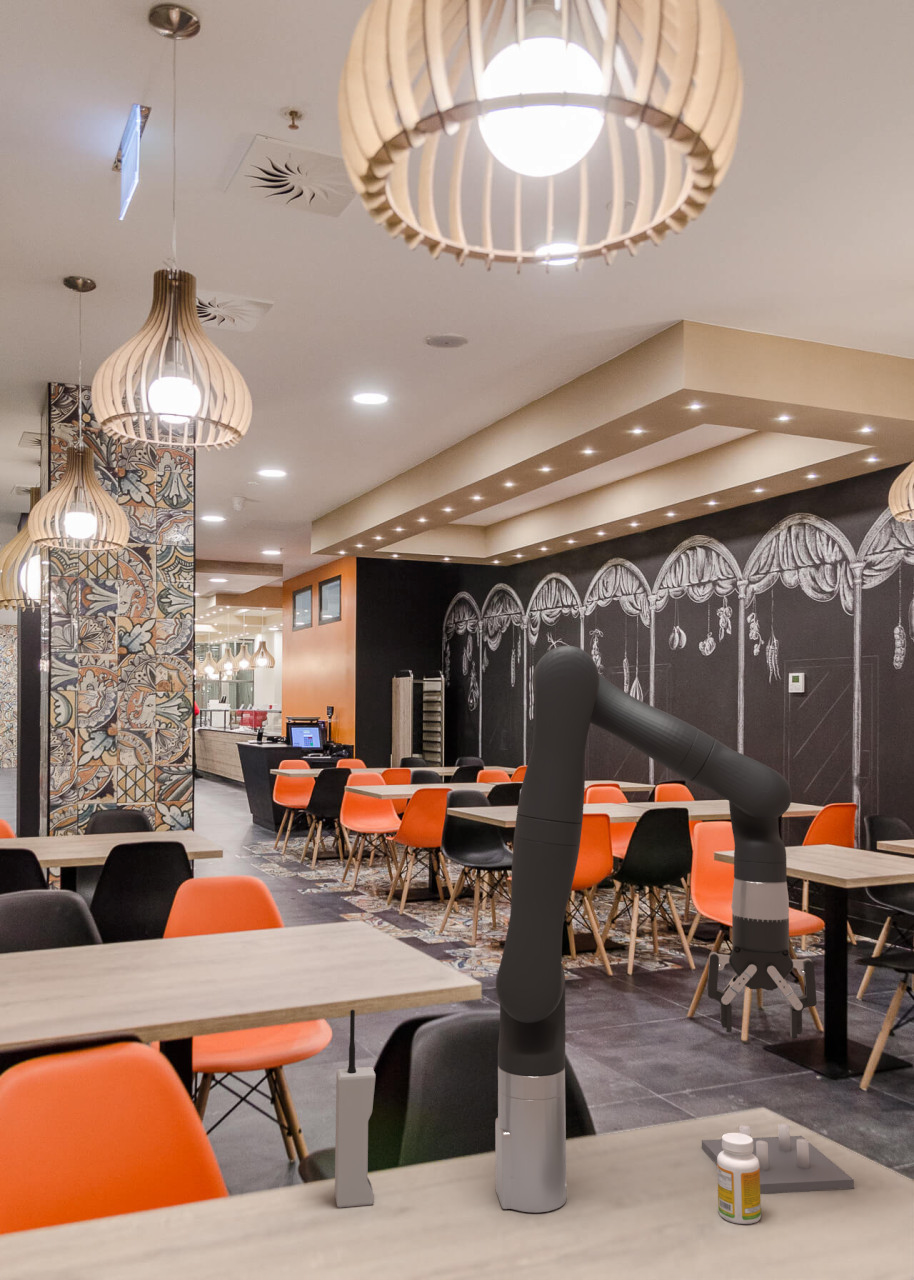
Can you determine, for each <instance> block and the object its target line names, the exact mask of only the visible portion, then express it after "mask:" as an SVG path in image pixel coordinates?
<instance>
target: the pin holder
mask: <svg viewBox="0 0 914 1280" xmlns="http://www.w3.org/2000/svg"><path fill="white" fill-rule="evenodd" d="M790 1126H791V1125H790V1124H788V1123H785V1122H784V1123H782V1122H781V1123H778V1136H766V1137H765V1136H764V1137H763V1136H762V1137H752V1136H751V1134H752V1133H751V1132H752V1131H751V1126H749V1125H747V1124H739V1128H738V1129H739V1130H738V1131H739V1132H738V1133H741V1134H745V1135H748V1136H750V1137H751V1138H752V1139H753V1147H754V1148H753V1152H752V1154H754V1155H755V1156H756V1157H757V1159H758V1161H759V1167H760V1194H776V1193H795V1192H796V1193H797V1192H814V1191H815V1192H816V1191H833V1190H834V1191H838V1190H852V1189H853V1190H854V1189H855V1183H854V1182H855V1181H854V1180H855V1179H854V1178H853V1177H852V1176H850V1175H849V1174H848V1173H847V1172H845V1170H843V1169H842V1168H840V1167H839V1166H838V1165H837V1164H836V1163H834V1162H833V1161H832V1160H831V1159H830V1158H829V1157H827V1156H826V1155H825V1154H824V1153H823V1152H821V1151H820V1150H819V1149H818V1148H817V1147H816V1146H815V1145H813V1144H812V1143H811V1142H810V1141H809V1140H807V1139H806V1138H805V1137H803V1136H802V1135H791V1134H790V1133H791V1129H790ZM701 1149H702V1150H703V1152H704V1153H705V1152H706V1153H705V1154H706V1155H707V1156H708V1157H709V1159H711V1160H712V1161H713V1162H714V1164H715V1165H716V1166H717V1157H718V1154H719V1153H720V1152H721V1151H723V1148H722V1138H721V1139H701Z"/></svg>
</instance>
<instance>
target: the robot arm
mask: <svg viewBox="0 0 914 1280" xmlns="http://www.w3.org/2000/svg"><path fill="white" fill-rule="evenodd" d="M531 681H532V689H533V691H534V698H535V702H534V704H535V705H534V707H535V708H534V731H533V739H532V747H531V751H530V754H529V759H528V762H527V766H526V769H525V773H524V777H523V781H522V784H521V787H520V788H521V789H520V793H519V798H518V804H517V811H516V816H515V817H516V818H515V824H514V825H515V827H514V833H513V847H512V857H511V858H512V859H511V860H512V861H511V862H512V863H511V881H510V882H511V890H510V891H511V897H510V899H511V900H510V902H511V903H510V914H509V920H508V921H509V922H508V927H507V932H506V937H505V943H504V947H503V950H502V956H501V960H500V963H499V967H498V969H497V975H496V979H495V989H496V995H497V998H498V1001H499V1002H500V1003H499V1033H498V1035H499V1036H498V1043H497V1089H498V1090H497V1109H498V1110H497V1114H498V1115H497V1117H496V1118H495V1125H494V1126H495V1128H494V1130H495V1132H494V1133H495V1134H494V1135H495V1139H494V1140H495V1143H494V1144H495V1147H494V1149H495V1192H496V1195H497V1198H498V1201H499V1203H500V1205H501V1208H502V1209H503V1210H507V1209H509V1210H510V1209H511V1210H514V1211H518V1212H523V1213H546V1212H550V1211H555V1210H557V1209H559V1208H561V1207H562V1206H564V1205H565V1203H566V1202H567V1183H568V1181H567V1139H566V1137H567V1136H566V1135H567V1132H566V1131H567V1130H566V1128H567V1126H566V1037H567V1035H566V974H565V968H564V966H563V963H562V962H563V961H562V959H563V958H562V956H563V955H562V953H563V952H562V951H563V931H564V922H565V921H564V920H565V916H566V910H567V906H568V903H569V898H570V894H571V890H572V887H573V883H574V878H575V873H576V871H577V870H576V869H577V864H578V859H579V854H580V847H581V838H582V837H581V836H582V829H583V822H584V821H583V819H584V805H585V802H584V801H585V784H586V778H585V777H586V770H585V769H586V767H585V766H586V765H585V764H586V763H585V762H586V749H587V741H588V736H589V732H590V731H589V729H590V725H593V726H596V727H597V728H600V729H602V730H604V731H606V732H608V733H610V734H611V735H614V736H615V737H617V738H619V739H620V740H622V741H624V742H626V743H627V744H628V745H630V746H632V747H634V748H635V749H637V750H638V751H639V752H641V753H643V754H645V756H647V757H648V758H651V759H652V760H653V761H655V762H657V763H658V764H660V765H662V766H663V767H665V768H667V769H668V770H670V771H672V772H673V773H675V774H677V775H678V776H679V777H682V778H684V779H685V780H686V781H689V782H690V783H692V784H694V785H695V786H699V787H701V788H704V789H707V790H709V791H712V792H714V793H716V794H717V795H718V796H720V797H722V798H723V799H725V800H727V801H728V804H729V805H728V806H729V816H730V823H731V829H732V830H731V831H732V836H733V842H734V849H733V850H734V852H733V887H732V893H731V894H732V898H731V901H732V902H731V910H732V913H731V917H732V918H731V919H732V921H731V923H732V925H731V926H732V927H731V928H732V929H731V930H732V932H731V933H732V935H731V937H732V938H731V939H732V940H731V941H732V943H731V945H732V948H731V951H730V954H722V953H717V951H714V950H711V951H710V952H709V954H708V969H707V971H708V972H707V983H706V984H707V985H706V986H707V988H706V991H707V996H708V997H709V999H710V1000H715V1001H717V1002H719V1004H720V1025H721V1027H722V1028H723V1029H725V1032H726V1033H730V1034H732V1033H733V1032H732V1031H733V1030H732V1029H733V1028H732V1026H733V1025H732V1023H733V1021H732V1018H733V1015H732V1014H733V1013H732V1012H733V1010H732V1009H733V1007H732V1006H733V1005H732V1000H733V999H734V998H735V997H736V996H737V995H738V994H739V993H740V992H741V990H743V989H744V987H746V988H748V989H750V990H757V989H758V990H759V989H762V990H763V989H764V990H766V991H772V992H773V991H774V990H777V989H778V988H779V989H780V991H781V993H782V994H783V995H784V996H785V998H786V999H787V1000H788V1002H789V1003H790V1004H791V1006H789V1035H790V1038H791V1039H798V1035H801V1034H802V1031H803V1010H804V1009H806V1008H810V1007H815V1006H817V989H816V976H815V964H814V963H813V961H812V959H811V958H809V957H804V958H802V959H794V958H793V959H792V958H791V955H790V904H789V903H790V902H789V901H790V900H789V891H788V882H787V849H786V845H785V843H784V842H783V840H782V839H781V837H780V832H779V831H780V830H779V817H781V816H782V815H784V814H785V813H786V812H787V811H788V809H789V808H790V806H791V804H792V801H793V799H792V798H793V797H792V795H793V794H792V789H791V786H790V784H789V782H788V780H787V779H786V778H785V777H784V776H783V775H782V774H781V773H779V772H778V771H777V770H775V769H773V768H771V766H770V767H769V766H767V765H766V764H764V763H762V762H760V761H758V760H755V759H754V758H752V757H749V756H747V755H745V754H743V753H741V752H738V751H736V750H734V749H732V748H730V747H728V746H727V745H726V744H724V743H723V742H721V741H719V740H718V739H716V738H714V737H713V736H711V735H710V734H707V732H704V731H703V730H701V729H699V728H697V727H696V726H695V725H691V723H689V722H687V721H684V720H683V719H680V718H678V717H676V716H675V715H672V714H670V713H668V712H666V711H663V710H661V709H659V708H657V707H654V706H652V705H650V704H648V703H646V702H644V701H642V700H640V699H638V698H636V697H634V696H633V695H631V694H629V693H627V692H626V691H624V690H622V689H621V688H619V687H617V686H616V685H615V684H613V683H612V682H611V681H609V680H608V679H607V678H605V676H603V675H602V674H601V673H600V672H599V668H598V665H597V664H596V662H595V660H594V658H593V657H592V656H591V655H590V654H589V653H588V652H586V651H585V650H584V649H582V648H580V647H579V646H578V647H577V646H573V645H561V646H557V647H555V648H554V647H553V648H552V649H550V650H548V651H547V652H546V653H545V654H544V655H543V656H541V658H540V659H539V660H538V662H537V664H536V665H535V667H534V669H533V673H532V678H531ZM726 964H729V966H730V967H731V968H732V969H733V971H734V973H735V974H734V975H733V976H732V978H731V979H730V981H729V982H728V984H727V985H726V986H725V987H724V989H723V990H722V989H718V984H719V983H718V980H719V979H718V978H719V971H723V970H724V968H725V965H726ZM793 969H795V970H796V971H797V972H798V975H799V976H801V977H803V988H804V989H803V990H804V991H803V992H804V995H801V996H798V995H797V994H796V992H795V991H794V989H793V988H792V987H791V985H790V984H789V982H788V981H787V979H786V978H787V977H788V976H789V974H790V973H791V972H792V971H793Z"/></svg>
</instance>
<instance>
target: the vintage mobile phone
mask: <svg viewBox="0 0 914 1280" xmlns="http://www.w3.org/2000/svg"><path fill="white" fill-rule="evenodd" d="M349 1013H350V1016H349V1017H350V1019H349V1020H350V1024H349V1025H350V1026H349V1046H348V1067H347V1068H338V1069H337V1070H336V1075H335V1076H336V1079H335V1080H336V1081H335V1083H336V1089H335V1090H336V1094H335V1151H334V1152H335V1155H334V1156H335V1157H334V1159H335V1160H334V1161H335V1162H334V1197H335V1203H336V1206H337V1208H339V1209H340V1208H350V1207H359V1206H360V1207H362V1206H372V1205H374V1203H375V1193H374V1189H373V1186H372V1183H371V1181H370V1179H369V1177H368V1164H369V1162H368V1161H369V1160H368V1158H369V1156H368V1155H369V1153H368V1152H369V1120H370V1118H371V1116H372V1113H373V1106H374V1098H375V1097H374V1095H375V1086H376V1077H377V1076H376V1075H377V1074H376V1072H375V1071H374V1070H375V1069H374V1067H373V1066H369V1067H368V1066H367V1067H365V1066H363V1067H356V1046H355V1043H356V1042H355V1032H356V1030H355V1021H356V1017H355V1014H356V1012H355V1009H351V1010H350V1011H349Z"/></svg>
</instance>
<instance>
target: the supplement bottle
mask: <svg viewBox="0 0 914 1280" xmlns="http://www.w3.org/2000/svg"><path fill="white" fill-rule="evenodd" d="M752 1138H753V1137H752V1136H751V1137H750V1136H748V1135H745V1134H741V1133H740V1132H728V1133H724V1134H723V1135H722V1137H721V1139H722V1148H723V1151H721V1152H720V1153H719V1154H718V1157H717V1165H716V1169H717V1171H716V1172H717V1173H716V1174H717V1175H716V1177H717V1207H718V1209H717V1210H718V1214H719V1216H720V1217H721V1218H723V1219H724V1220H725V1221H727V1222H729V1223H732V1224H737V1225H739V1224H740V1225H750V1224H751V1225H752V1224H756V1223H758V1222H759V1221H760V1219H761V1217H762V1208H761V1207H762V1205H761V1200H762V1199H761V1193H760V1167H759V1161H758V1159H757V1157H756V1156H755V1155H754V1154H752V1152H753V1148H754V1147H753V1139H752Z"/></svg>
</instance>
